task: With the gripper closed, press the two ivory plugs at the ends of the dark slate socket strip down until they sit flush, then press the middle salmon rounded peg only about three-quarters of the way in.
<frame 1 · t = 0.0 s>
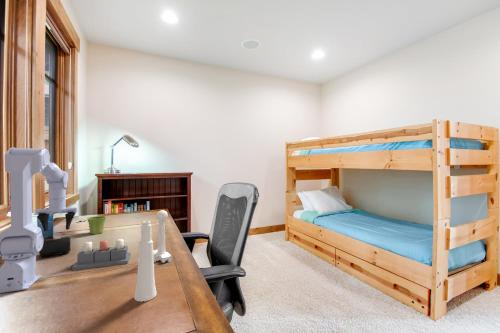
hand: (57, 230, 102), 10 cm above the table, fingers open, 7 cm apart
end cap: (55, 255, 101), on the table
plant pot: (96, 233, 134), on the table
near ivory plug: (87, 248, 92), point 6 cm above the table, slide at 0.0 cm
far ivory plug: (119, 245, 96), point 6 cm above the table, slide at 0.0 cm
cosmetic bottle: (145, 296, 70), on the table
salmon rounded peg: (103, 247, 94), point 6 cm above the table, slide at 0.0 cm
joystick: (157, 260, 97), on the table
socket strip: (103, 262, 94), on the table
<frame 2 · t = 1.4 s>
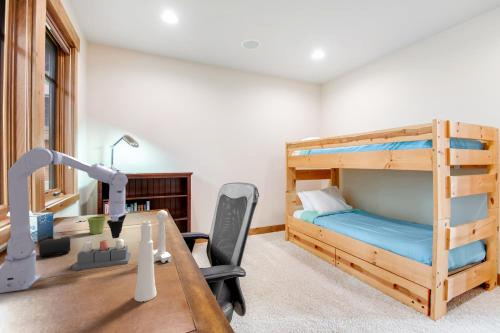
hand: (116, 235, 96), 10 cm above the table, fingers open, 7 cm apart
nothing on the table moved.
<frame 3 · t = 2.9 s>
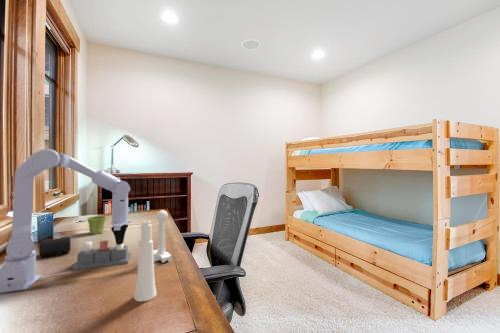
hand: (119, 243, 96), 7 cm above the table, fingers closed, pressing on far ivory plug
far ivory plug: (119, 249, 96), point 4 cm above the table, slide at 1.6 cm, touching gripper
everything else where it was.
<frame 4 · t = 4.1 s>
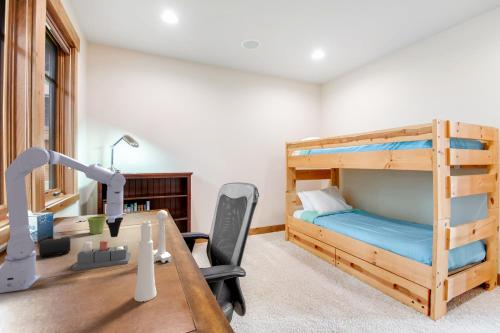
hand: (114, 236, 95), 10 cm above the table, fingers closed
far ivory plug: (119, 253, 96), point 3 cm above the table, slide at 3.0 cm
everything else where it was.
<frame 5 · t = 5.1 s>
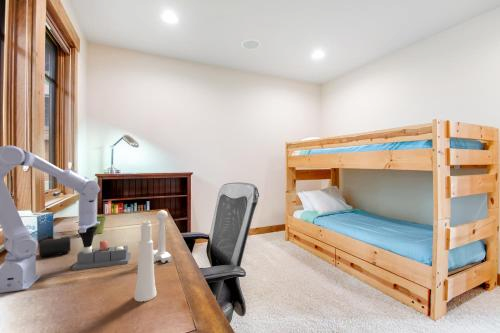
hand: (87, 246, 92), 7 cm above the table, fingers closed, pressing on near ivory plug
near ivory plug: (87, 252, 92), point 4 cm above the table, slide at 1.5 cm, touching gripper
everything else where it was.
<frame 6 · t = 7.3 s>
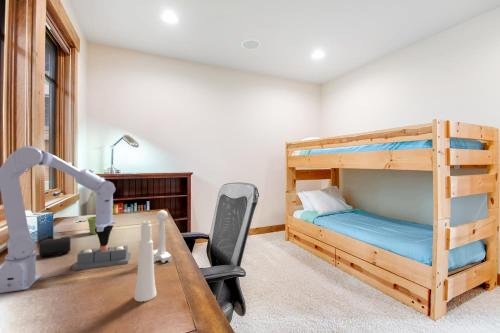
hand: (104, 245, 94), 7 cm above the table, fingers closed, pressing on salmon rounded peg
near ivory plug: (87, 256, 92), point 3 cm above the table, slide at 3.0 cm
salmon rounded peg: (103, 251, 94), point 4 cm above the table, slide at 1.5 cm, touching gripper
everything else where it was.
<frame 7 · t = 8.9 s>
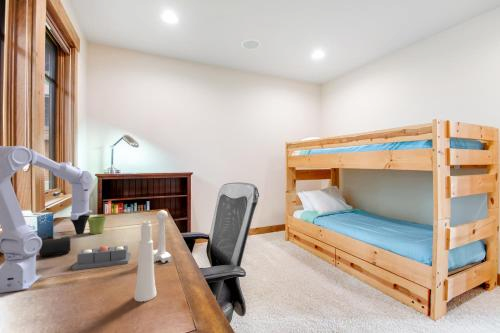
hand: (80, 233, 96), 10 cm above the table, fingers closed
salmon rounded peg: (103, 252, 94), point 4 cm above the table, slide at 2.2 cm
everything else where it was.
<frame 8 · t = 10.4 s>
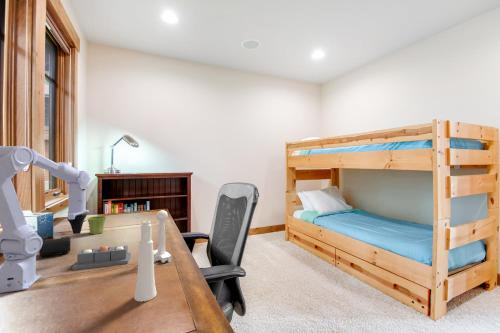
hand: (76, 233, 96), 10 cm above the table, fingers closed
nothing on the table moved.
at the end: far ivory plug slide at 3.0 cm; near ivory plug slide at 3.0 cm; salmon rounded peg slide at 2.2 cm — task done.
